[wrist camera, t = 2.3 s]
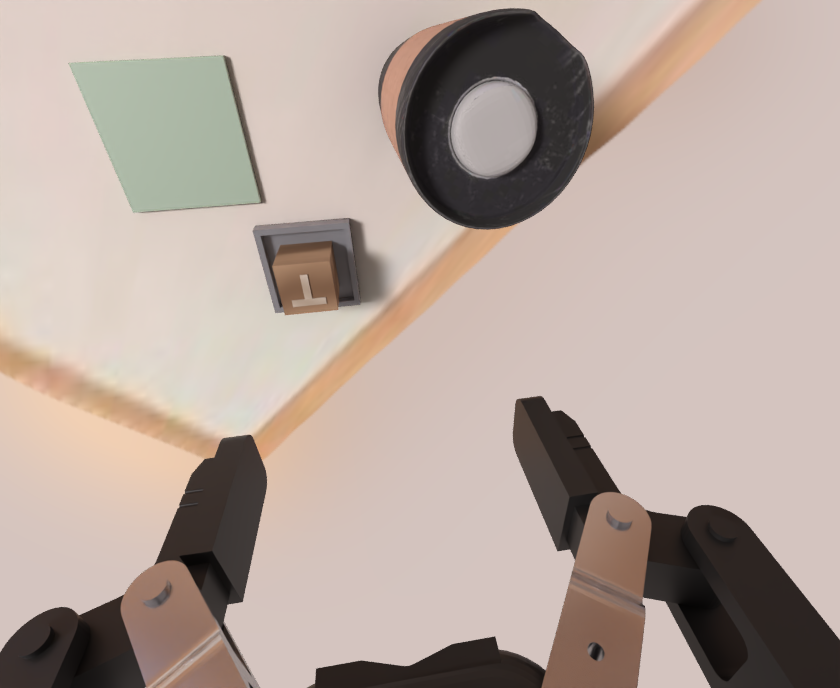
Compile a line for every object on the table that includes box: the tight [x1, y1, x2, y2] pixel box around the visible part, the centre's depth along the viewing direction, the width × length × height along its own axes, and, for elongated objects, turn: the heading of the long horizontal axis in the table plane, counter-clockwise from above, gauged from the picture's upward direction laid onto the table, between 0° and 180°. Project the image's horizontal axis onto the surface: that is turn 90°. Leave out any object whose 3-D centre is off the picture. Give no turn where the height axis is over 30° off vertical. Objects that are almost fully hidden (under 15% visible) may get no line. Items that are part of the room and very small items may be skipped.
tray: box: [253, 218, 360, 313], centre depth 38 cm, size 8×8×1 cm
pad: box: [69, 56, 261, 213], centre depth 31 cm, size 10×10×1 cm
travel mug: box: [378, 8, 594, 229], centre depth 24 cm, size 8×8×20 cm
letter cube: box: [272, 241, 340, 315], centre depth 36 cm, size 5×4×5 cm
